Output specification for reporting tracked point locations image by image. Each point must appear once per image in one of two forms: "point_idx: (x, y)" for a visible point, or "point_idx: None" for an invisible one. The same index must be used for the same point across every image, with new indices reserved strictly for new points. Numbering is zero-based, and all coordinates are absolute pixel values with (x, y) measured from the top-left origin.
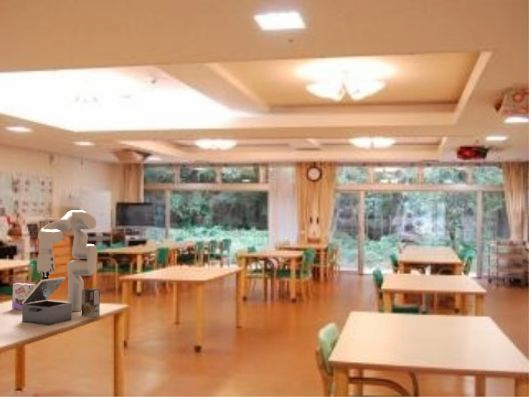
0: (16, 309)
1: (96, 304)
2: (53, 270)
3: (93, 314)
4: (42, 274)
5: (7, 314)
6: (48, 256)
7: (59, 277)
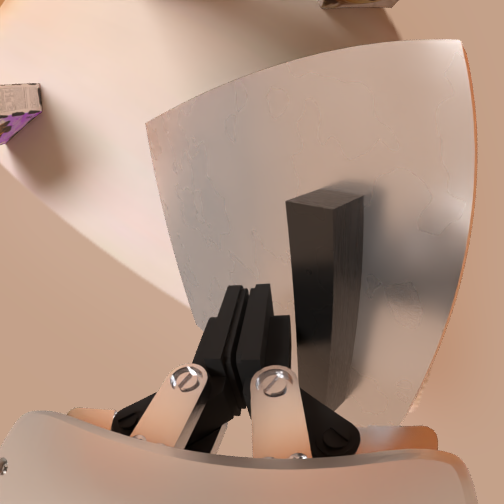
0: (12, 136)
1: None
2: (410, 465)
3: (393, 3)
4: (214, 444)
5: (53, 201)
6: None
7: (469, 229)
